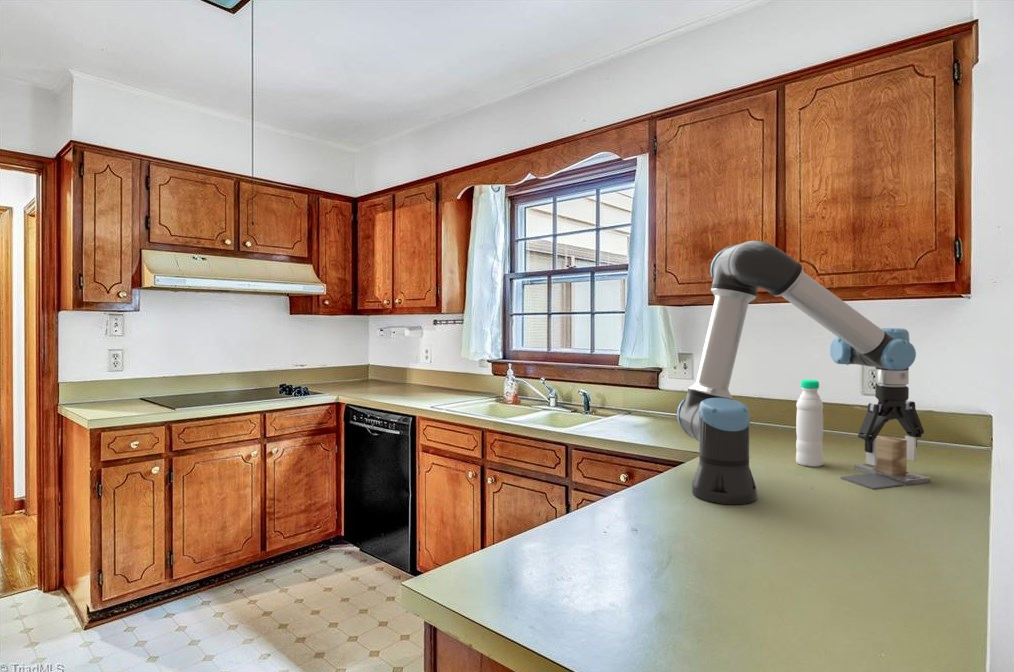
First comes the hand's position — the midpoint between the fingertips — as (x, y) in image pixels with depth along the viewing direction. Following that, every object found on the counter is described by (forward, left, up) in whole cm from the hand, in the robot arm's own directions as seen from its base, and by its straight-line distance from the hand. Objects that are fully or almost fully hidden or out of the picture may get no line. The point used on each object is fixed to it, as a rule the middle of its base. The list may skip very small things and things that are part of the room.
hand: (891, 462), depth 155 cm
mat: (-10, -3, -4) cm, 11 cm away
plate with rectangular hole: (0, 0, -4) cm, 4 cm away
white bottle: (-12, +16, -4) cm, 20 cm away
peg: (0, 0, -4) cm, 4 cm away
